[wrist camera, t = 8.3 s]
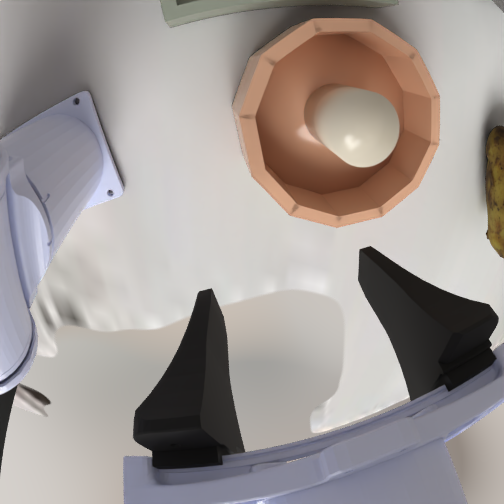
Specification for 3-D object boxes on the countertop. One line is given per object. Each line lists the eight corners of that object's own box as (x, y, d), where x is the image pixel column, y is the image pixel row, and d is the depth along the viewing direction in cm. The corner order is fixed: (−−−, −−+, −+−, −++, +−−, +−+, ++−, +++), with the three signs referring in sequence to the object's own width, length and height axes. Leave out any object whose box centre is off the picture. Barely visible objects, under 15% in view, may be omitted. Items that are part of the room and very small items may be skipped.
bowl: (255, 214, 22) (266, 245, 19) (215, 38, 14) (218, 30, 11) (404, 181, 22) (433, 204, 19) (398, 27, 14) (433, 27, 11)
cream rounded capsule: (309, 150, 19) (334, 174, 15) (298, 88, 16) (324, 95, 13) (366, 139, 19) (400, 160, 15) (360, 80, 16) (397, 88, 13)
